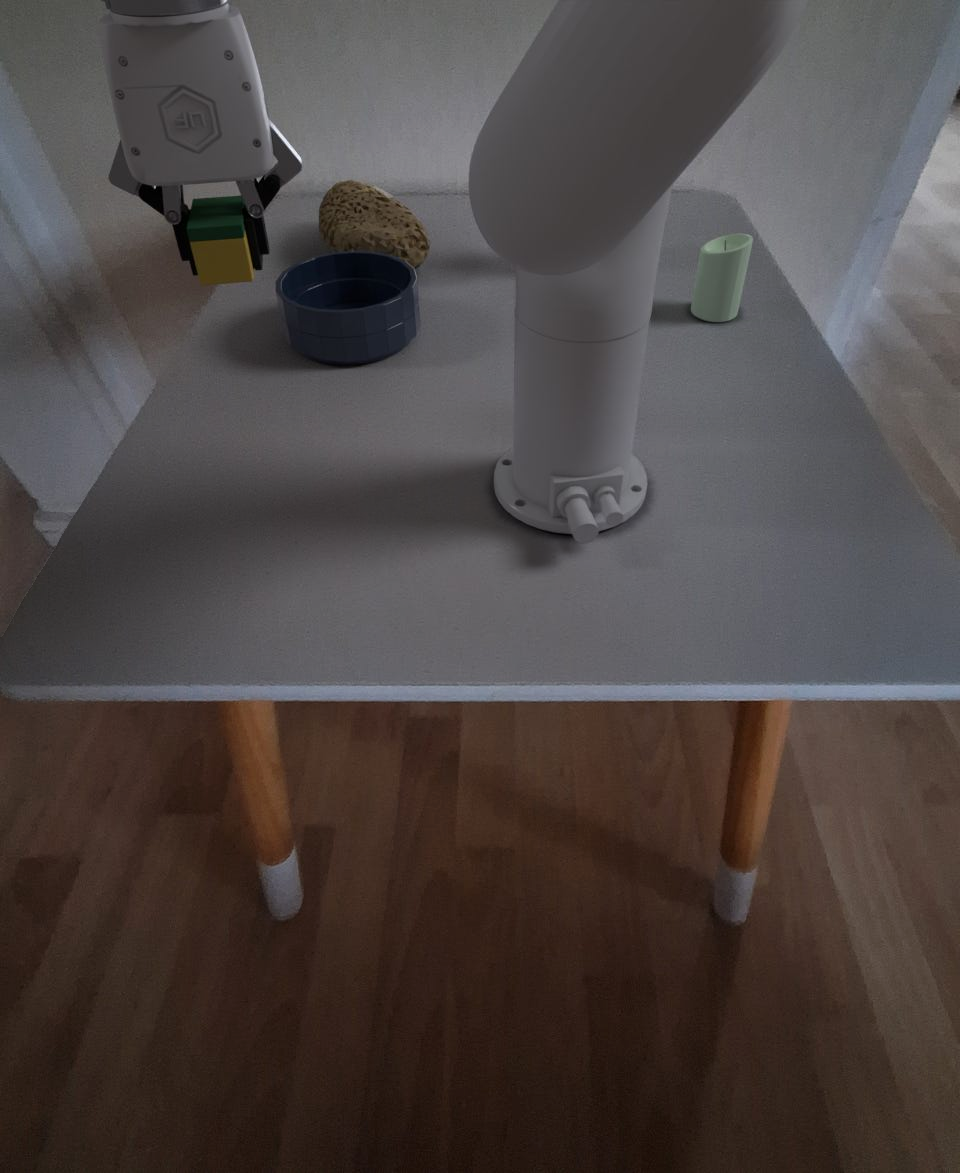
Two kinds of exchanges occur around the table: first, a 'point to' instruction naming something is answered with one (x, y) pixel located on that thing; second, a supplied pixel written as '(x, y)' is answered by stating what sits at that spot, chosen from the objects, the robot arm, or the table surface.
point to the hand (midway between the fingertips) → (228, 263)
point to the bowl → (349, 306)
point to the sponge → (371, 223)
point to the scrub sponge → (220, 240)
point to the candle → (721, 277)
